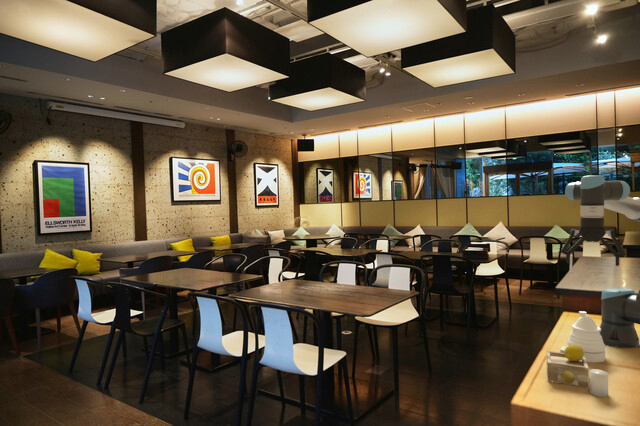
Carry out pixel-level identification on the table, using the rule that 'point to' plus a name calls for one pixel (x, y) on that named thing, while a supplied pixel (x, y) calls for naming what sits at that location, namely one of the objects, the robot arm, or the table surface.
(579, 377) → the wooden crate
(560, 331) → the table surface
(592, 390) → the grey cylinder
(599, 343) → the honey pot
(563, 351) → the sage cube
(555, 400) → the table surface
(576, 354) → the lemon
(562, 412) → the table surface
